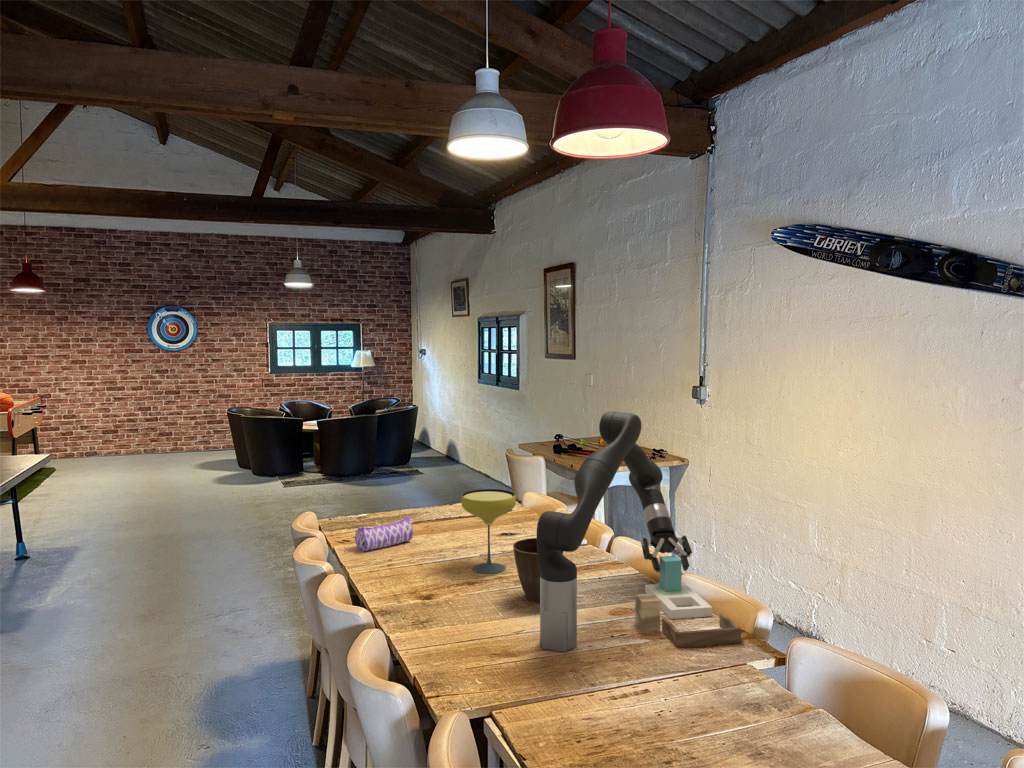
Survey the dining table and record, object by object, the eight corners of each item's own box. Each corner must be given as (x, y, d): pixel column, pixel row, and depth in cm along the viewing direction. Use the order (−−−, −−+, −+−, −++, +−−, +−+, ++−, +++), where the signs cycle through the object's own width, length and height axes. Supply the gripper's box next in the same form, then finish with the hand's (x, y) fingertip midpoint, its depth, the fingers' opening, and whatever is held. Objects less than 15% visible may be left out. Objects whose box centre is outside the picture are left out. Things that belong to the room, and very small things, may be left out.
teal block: (681, 590, 204) (681, 560, 204) (664, 591, 204) (665, 561, 203) (675, 585, 209) (675, 555, 208) (659, 586, 208) (659, 556, 207)
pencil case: (364, 555, 249) (363, 529, 248) (351, 549, 256) (350, 524, 255) (416, 543, 263) (415, 518, 263) (402, 537, 270) (402, 513, 270)
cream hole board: (712, 616, 192) (712, 606, 192) (670, 619, 191) (670, 609, 190) (683, 590, 212) (683, 581, 212) (645, 592, 210) (645, 584, 210)
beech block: (659, 630, 183) (660, 600, 183) (641, 631, 183) (641, 601, 182) (652, 622, 188) (653, 593, 188) (635, 623, 188) (635, 594, 187)
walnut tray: (741, 642, 176) (741, 628, 176) (677, 647, 173) (677, 633, 173) (723, 626, 186) (723, 613, 185) (662, 630, 183) (662, 617, 183)
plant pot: (560, 609, 197) (560, 554, 196) (508, 606, 200) (508, 551, 199) (566, 591, 212) (566, 539, 211) (518, 587, 215) (518, 536, 214)
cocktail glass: (518, 560, 241) (518, 489, 240) (513, 578, 223) (512, 501, 222) (466, 559, 243) (466, 488, 241) (457, 577, 225) (456, 500, 224)
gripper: (639, 516, 211) (652, 565, 201) (683, 514, 213) (699, 563, 203) (633, 529, 217) (646, 577, 206) (676, 526, 219) (691, 574, 208)
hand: (672, 570), depth 204 cm, fingers open, 8 cm apart
